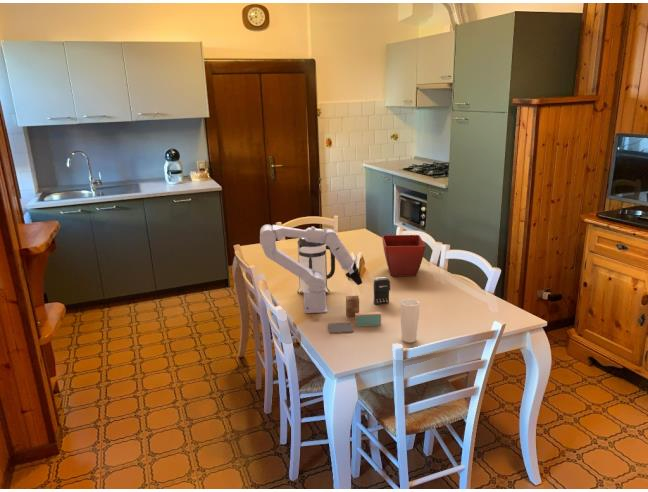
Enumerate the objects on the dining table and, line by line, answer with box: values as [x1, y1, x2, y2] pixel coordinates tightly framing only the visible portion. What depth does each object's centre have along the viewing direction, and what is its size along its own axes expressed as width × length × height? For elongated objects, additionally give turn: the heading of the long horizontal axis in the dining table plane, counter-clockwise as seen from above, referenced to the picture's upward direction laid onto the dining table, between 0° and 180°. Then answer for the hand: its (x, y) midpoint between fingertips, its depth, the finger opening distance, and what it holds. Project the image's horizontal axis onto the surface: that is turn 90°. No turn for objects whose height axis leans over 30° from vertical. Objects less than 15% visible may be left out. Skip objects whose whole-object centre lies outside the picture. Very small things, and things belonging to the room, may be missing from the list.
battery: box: [372, 276, 391, 305], centre depth 213 cm, size 7×4×11 cm, turn 101°
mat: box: [328, 321, 354, 334], centre depth 192 cm, size 9×8×1 cm
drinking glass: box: [399, 298, 420, 344], centre depth 180 cm, size 7×7×15 cm
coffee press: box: [296, 238, 336, 295], centre depth 224 cm, size 17×16×30 cm
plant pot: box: [381, 234, 426, 277], centre depth 248 cm, size 19×19×17 cm
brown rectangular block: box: [345, 295, 360, 319], centre depth 202 cm, size 5×4×8 cm
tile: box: [354, 311, 382, 327], centre depth 194 cm, size 10×2×5 cm, turn 94°
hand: (358, 280), depth 208 cm, fingers open, 7 cm apart
